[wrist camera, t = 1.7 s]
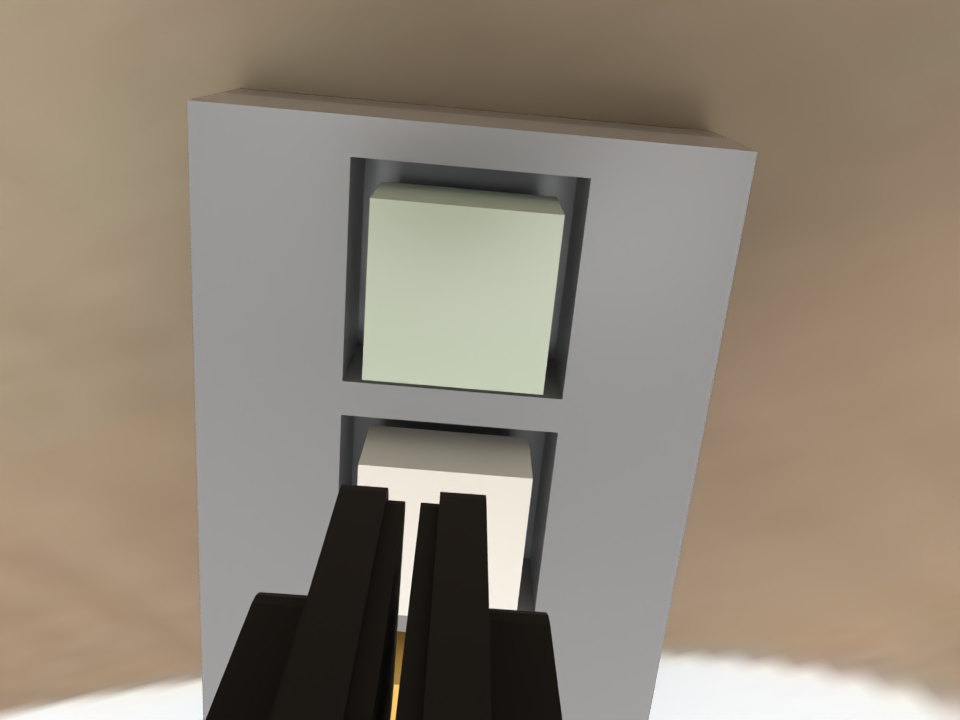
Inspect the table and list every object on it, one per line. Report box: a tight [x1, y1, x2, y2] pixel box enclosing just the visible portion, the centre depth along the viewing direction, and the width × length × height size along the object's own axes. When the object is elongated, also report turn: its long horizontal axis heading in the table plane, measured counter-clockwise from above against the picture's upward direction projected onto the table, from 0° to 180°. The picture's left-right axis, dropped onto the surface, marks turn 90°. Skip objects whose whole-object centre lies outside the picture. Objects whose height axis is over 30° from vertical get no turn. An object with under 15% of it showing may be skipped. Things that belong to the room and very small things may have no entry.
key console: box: [187, 88, 757, 720], centre depth 28 cm, size 14×22×5 cm, turn 175°
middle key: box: [357, 425, 533, 616], centre depth 25 cm, size 5×5×2 cm
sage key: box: [362, 181, 565, 395], centre depth 23 cm, size 5×5×2 cm
